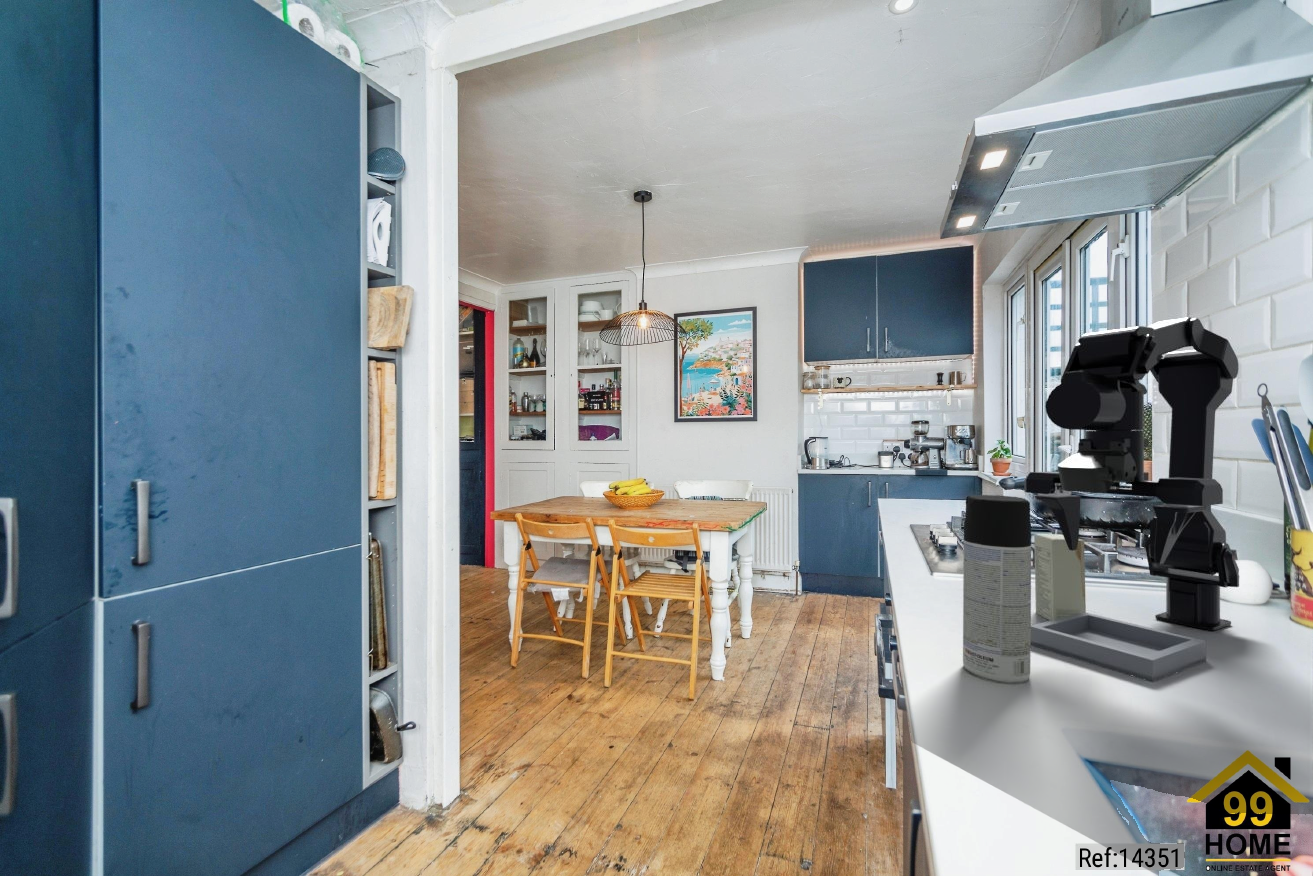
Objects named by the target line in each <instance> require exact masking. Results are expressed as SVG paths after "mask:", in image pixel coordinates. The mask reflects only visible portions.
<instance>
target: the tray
mask: <svg viewBox="0 0 1313 876" xmlns="http://www.w3.org/2000/svg"><path fill="white" fill-rule="evenodd" d="M1031 647H1035V648H1038V649H1042V650H1044V651H1048V652H1051V653H1054V654H1057V655H1060V656H1065V657H1067V658H1070V659H1074V660H1077V661H1080V662H1084V663H1086V664H1087V663H1088V664H1091V665H1095V666H1098V667H1101V668H1104V669H1107V670H1111V671H1114V672H1118V673H1121V674H1124V675H1127V676H1130V675H1133V676H1135V677H1134V678H1137V677H1138V678H1137V679H1140V678H1141V680H1143V679H1145V680H1144V681H1147V680H1148V682H1150V681H1151V682H1150V683H1155V682H1157V681H1160V680H1163V679H1165V678H1167V677H1166V676H1168V677H1170V676H1172V674H1173V675H1175V674H1177V673H1176V672H1178V673H1180V672H1183V671H1186V670H1188V669H1190V668H1193V667H1195V666H1198V665H1200V664H1203V663H1206V662H1207V640H1203V639H1198V638H1194V637H1190V636H1187V635H1186V636H1185V635H1183V634H1177V633H1173V632H1169V631H1165V630H1161V629H1157V628H1153V627H1149V626H1144V625H1139V624H1136V623H1132V622H1128V621H1124V620H1119V619H1114V618H1111V617H1106V616H1102V615H1097V614H1095V613H1089V612H1087V611H1086V612H1083V613H1079V614H1075V615H1071V616H1067V617H1063V618H1059V619H1055V620H1051V621H1049V620H1048V621H1043V622H1040V623H1036V624H1031ZM1187 668H1188V669H1187ZM1174 673H1175V674H1174ZM1169 675H1170V676H1169ZM1133 676H1132V677H1133ZM1164 677H1165V678H1164ZM1162 678H1163V679H1162ZM1159 679H1160V680H1159ZM1156 680H1157V681H1156ZM1154 681H1155V682H1154Z"/></svg>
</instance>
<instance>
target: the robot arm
mask: <svg viewBox="0 0 1313 876" xmlns="http://www.w3.org/2000/svg"><path fill="white" fill-rule="evenodd" d="M1077 342H1078V343H1076V344H1075V345H1074V347H1073V349H1072V351H1071V354H1070V356H1069V359H1068V361H1067V364H1066V365H1065V368H1064V371H1063V373H1062V375H1061V379H1060V384H1058V385H1056V387H1055V388H1053V390H1051V392H1050V393H1049V395H1048V398H1047V400H1046V401H1045V405H1044V407H1045V412H1046V415H1047V416H1048V419H1049V420H1050V422H1052V423H1053V424H1054V425H1056V426H1057V427H1059V428H1061V429H1064V430H1065V429H1066V430H1070V431H1071V430H1072V431H1073V430H1075V431H1076V430H1077V431H1078V430H1079V431H1084V438H1079V442H1078V445H1077V446H1078V450H1077V452H1076V453H1075V454H1071V455H1070V456H1068V457H1067V458H1065V459H1064V460H1062V461H1061V462H1059V463H1058V464H1057V471H1029V473H1028V474H1027V476H1026V477H1025V479H1024V482H1023V483H1024V487H1023V488H1024V493H1028V494H1037V495H1034V499H1035V500H1037V501H1041V502H1043V503H1044V504H1045V505H1046V506H1047V507H1048V508H1049V509H1050V510H1051V512H1052V514H1053V516H1054V518H1055V519H1056V522H1057V524H1058V526H1059V528H1060V531H1061V535H1063V536H1064V539H1065V541H1066V543H1067V546H1068V548H1069V550H1072V551H1074V550H1076V549H1077V545H1078V540H1079V539H1080V521H1081V520H1080V517H1081V497H1082V496H1081V495H1076V494H1075V495H1072V493H1074V492H1083V493H1090V494H1108V495H1109V494H1110V495H1123V496H1136V497H1148V498H1149V497H1151V498H1157V499H1158V500H1159V501H1161V502H1162V503H1163V504H1161V505H1159V504H1158V505H1152V508H1153V512H1154V514H1155V515H1154V517H1153V518H1152V519H1151V520H1150V523H1149V535H1148V536H1147V538H1146V542H1145V553H1146V559H1147V565H1148V566H1147V567H1148V571H1149V575H1150V576H1151V577H1153V576H1154V577H1156V576H1157V577H1163V578H1165V581H1166V582H1165V584H1166V585H1165V587H1166V588H1165V591H1166V593H1165V596H1166V597H1165V598H1166V600H1165V605H1166V606H1165V609H1166V611H1165V612H1160V613H1158V614H1155V619H1157V620H1161V621H1166V622H1170V623H1174V624H1179V625H1184V626H1187V627H1193V628H1197V629H1202V630H1206V631H1216V630H1220V629H1222V628H1224V627H1228V626H1231V625H1232V621H1231V620H1229V619H1222V618H1221V588H1228V587H1231V588H1239V587H1240V574H1239V573H1240V568H1239V566H1238V563H1237V561H1236V559H1235V556H1234V554H1233V552H1232V549H1231V547H1230V545H1229V543H1227V533H1226V530H1225V529H1224V528H1223V526H1222V524H1221V523H1220V522H1219V520H1218V519H1217V518H1216V516H1215V515H1214V514H1213V512H1212V506H1214V505H1215V506H1216V505H1223V504H1224V503H1223V501H1224V500H1223V499H1224V497H1223V493H1224V492H1223V491H1224V490H1223V487H1222V485H1221V484H1220V483H1219V481H1218V480H1216V479H1215V478H1213V471H1214V449H1215V448H1214V446H1215V425H1216V424H1215V423H1216V411H1217V410H1218V409H1219V407H1220V406H1221V405H1222V404H1223V403H1224V402H1225V400H1226V399H1228V397H1229V396H1230V395H1231V394H1232V392H1233V386H1234V385H1233V383H1234V379H1236V378H1237V377H1238V375H1239V360H1238V356H1237V355H1236V353H1235V350H1234V349H1233V346H1232V345H1231V343H1230V342H1229V340H1228V339H1227V338H1225V337H1223V336H1221V335H1219V334H1217V333H1214V332H1212V331H1210V330H1208V329H1206V328H1205V327H1204V325H1203V324H1202V321H1201V320H1200V319H1199V318H1197V317H1194V318H1193V317H1191V316H1189V317H1182V318H1176V319H1167V320H1162V321H1161V320H1160V321H1157V322H1155V323H1153V324H1150V325H1148V326H1143V325H1139V326H1132V327H1126V328H1125V327H1124V328H1119V329H1110V330H1104V331H1097V332H1090V333H1084V334H1083V335H1081V336H1080V337H1079V339H1077ZM1187 347H1192V348H1193V349H1189V350H1188V349H1187V350H1180V349H1183V348H1187ZM1178 350H1180V351H1178ZM1149 372H1150V373H1151V375H1152V376H1153V377H1154V379H1155V381H1156V382H1157V383H1158V384H1157V385H1158V392H1159V394H1160V395H1161V396H1162V397H1163V399H1164V400H1165V401H1166V403H1167V404H1168V406H1169V407H1170V408H1171V422H1170V423H1171V424H1170V425H1171V427H1170V441H1169V445H1170V446H1169V458H1168V459H1169V463H1168V477H1161V478H1159V479H1158V480H1157V481H1149V480H1150V478H1149V475H1150V473H1149V472H1147V471H1146V472H1145V465H1144V464H1145V462H1144V461H1145V460H1144V459H1145V455H1144V454H1145V448H1149V445H1150V444H1149V438H1145V437H1144V436H1145V435H1144V434H1145V433H1144V431H1145V430H1144V428H1145V427H1144V426H1145V425H1144V424H1145V423H1144V422H1145V421H1144V420H1145V418H1144V417H1145V415H1144V414H1145V412H1144V411H1145V409H1144V408H1145V404H1144V403H1145V402H1144V399H1145V395H1147V393H1148V389H1147V387H1146V386H1145V385H1144V384H1143V383H1141V382H1140V381H1142V380H1143V379H1144V377H1145V376H1146V375H1147V374H1149ZM1121 483H1125V484H1126V485H1124V484H1121ZM1216 574H1218V575H1216Z"/></svg>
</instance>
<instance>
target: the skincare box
mask: <svg viewBox="0 0 1313 876" xmlns="http://www.w3.org/2000/svg"><path fill="white" fill-rule="evenodd" d="M1033 535H1034V537H1033V538H1034V539H1033V541H1034V544H1033V545H1034V581H1035V582H1034V584H1035V586H1034V588H1035V589H1034V590H1035V613H1037V614H1038V615H1039V616H1041V617H1043V618H1045V619H1046V620H1048V621H1051V620H1055V619H1059V618H1063V617H1067V616H1071V615H1075V614H1079V613H1083V612H1086V613H1087V609H1086V605H1087V604H1086V602H1087V601H1086V567H1085V566H1086V559H1085V556H1086V555H1085V540H1084V539H1080V538H1079V540H1078V545H1077V549H1076V550H1074V551H1072V550H1069V548H1068V546H1067V543H1066V541H1065V539H1064V536H1063V534H1059V533H1057V534H1055V533H1034V534H1033Z"/></svg>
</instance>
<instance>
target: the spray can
mask: <svg viewBox="0 0 1313 876" xmlns="http://www.w3.org/2000/svg"><path fill="white" fill-rule="evenodd" d="M962 558H963V560H962V561H963V562H962V563H963V567H962V568H963V569H962V571H963V573H962V574H963V576H962V578H963V579H962V580H963V581H962V582H963V588H962V590H963V594H962V595H963V601H962V612H963V613H962V664H963V665H962V666H963V668H964V670H965V671H966V672H967V673H968V674H969V675H971V676H974V677H977V678H979V679H982V680H985V681H988V682H993V683H999V684H1011V685H1012V684H1013V685H1014V684H1024V683H1026V682H1027V681H1028V680H1029V679H1030V675H1031V650H1032V649H1031V647H1032V646H1031V625H1032V622H1031V620H1032V619H1031V618H1032V614H1031V613H1032V612H1031V611H1032V525H1031V503H1030V501H1029V500H1028V499H1027V498H1023V497H1017V496H1010V495H1009V496H1008V495H988V494H974V495H968V496H966V498H965V518H964V521H963V557H962Z"/></svg>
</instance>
